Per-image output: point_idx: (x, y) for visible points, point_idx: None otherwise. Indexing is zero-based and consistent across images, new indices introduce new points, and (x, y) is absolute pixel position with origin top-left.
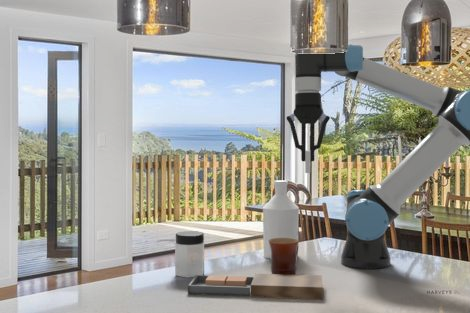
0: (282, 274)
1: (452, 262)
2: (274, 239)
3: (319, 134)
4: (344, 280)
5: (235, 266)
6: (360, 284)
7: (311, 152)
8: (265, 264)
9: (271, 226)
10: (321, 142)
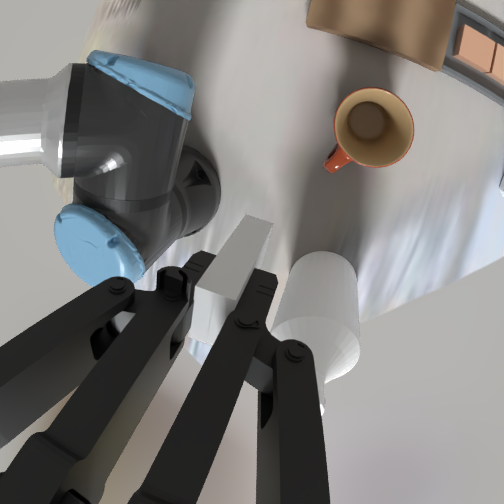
0: (388, 45)
1: (63, 180)
2: (391, 160)
3: (48, 350)
4: (250, 64)
5: (436, 219)
6: (228, 35)
7: (191, 289)
8: (376, 220)
9: (350, 302)
10: (79, 297)
